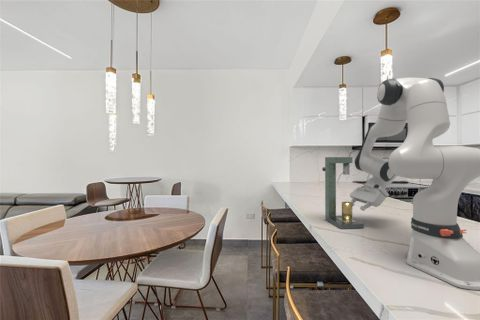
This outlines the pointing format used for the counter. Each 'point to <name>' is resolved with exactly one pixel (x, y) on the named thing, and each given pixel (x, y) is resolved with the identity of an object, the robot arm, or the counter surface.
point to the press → (331, 192)
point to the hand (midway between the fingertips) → (355, 207)
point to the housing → (347, 211)
